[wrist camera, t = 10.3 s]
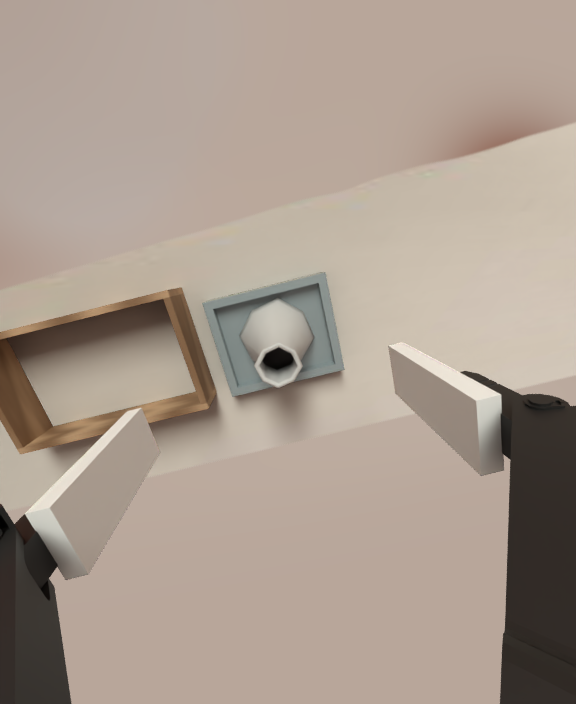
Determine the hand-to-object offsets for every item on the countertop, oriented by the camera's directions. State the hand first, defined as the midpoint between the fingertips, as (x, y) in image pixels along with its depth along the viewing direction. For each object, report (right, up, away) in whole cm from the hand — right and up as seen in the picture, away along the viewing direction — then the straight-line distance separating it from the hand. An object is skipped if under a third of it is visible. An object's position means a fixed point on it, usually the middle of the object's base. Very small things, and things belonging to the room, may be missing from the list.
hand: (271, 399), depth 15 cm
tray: (0, +4, +16) cm, 16 cm away
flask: (0, +4, +15) cm, 16 cm away
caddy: (-18, +1, +16) cm, 24 cm away
